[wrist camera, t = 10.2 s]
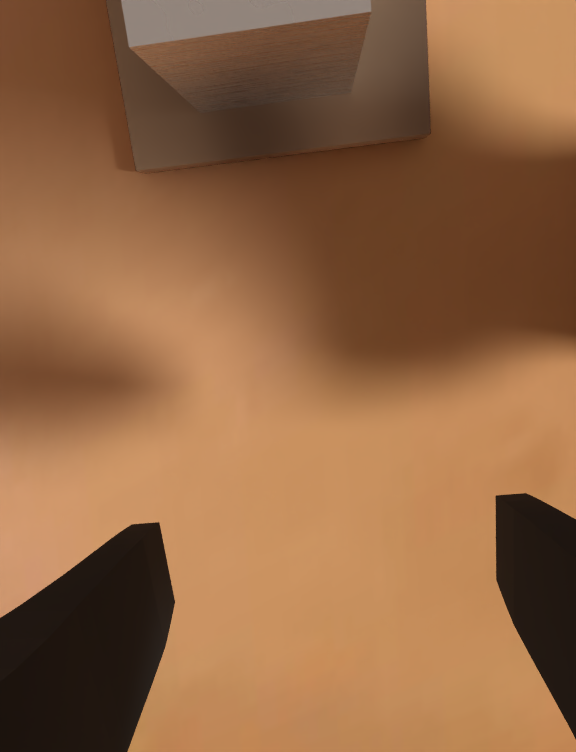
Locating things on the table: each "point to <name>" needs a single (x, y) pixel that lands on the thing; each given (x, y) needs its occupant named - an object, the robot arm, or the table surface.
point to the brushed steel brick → (249, 47)
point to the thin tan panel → (284, 119)
